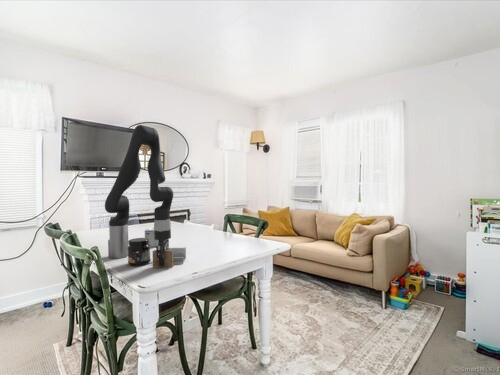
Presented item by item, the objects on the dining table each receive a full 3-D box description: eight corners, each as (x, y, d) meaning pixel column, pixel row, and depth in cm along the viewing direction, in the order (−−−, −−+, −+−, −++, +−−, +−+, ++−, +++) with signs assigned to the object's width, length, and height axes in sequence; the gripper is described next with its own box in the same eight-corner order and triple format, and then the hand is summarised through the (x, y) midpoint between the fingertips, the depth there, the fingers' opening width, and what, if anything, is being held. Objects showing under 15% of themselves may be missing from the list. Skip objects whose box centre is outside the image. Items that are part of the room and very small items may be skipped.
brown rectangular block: (152, 268, 129) (152, 251, 129) (154, 266, 132) (154, 250, 131) (172, 267, 130) (171, 251, 129) (173, 266, 132) (173, 249, 132)
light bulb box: (162, 243, 178) (162, 227, 178) (163, 246, 172) (162, 229, 172) (145, 245, 175) (144, 228, 175) (144, 247, 169) (144, 230, 168)
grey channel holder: (156, 264, 134) (155, 252, 134) (161, 259, 143) (160, 247, 143) (182, 263, 135) (182, 251, 135) (186, 258, 144) (185, 247, 144)
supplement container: (124, 263, 137) (124, 239, 136) (145, 259, 144) (144, 236, 144) (133, 268, 129) (132, 243, 129) (154, 263, 137) (153, 239, 136)
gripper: (158, 226, 137) (159, 259, 138) (149, 231, 123) (150, 269, 123) (173, 226, 137) (174, 259, 138) (166, 231, 123) (167, 268, 124)
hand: (163, 263), depth 131 cm, fingers open, 5 cm apart
